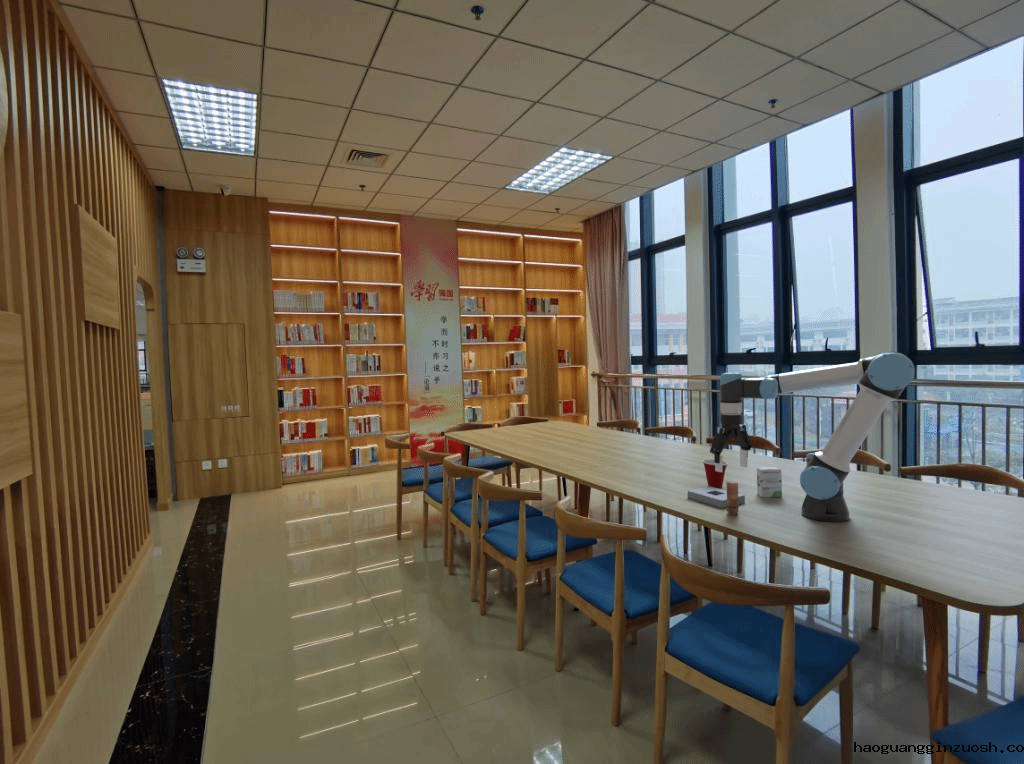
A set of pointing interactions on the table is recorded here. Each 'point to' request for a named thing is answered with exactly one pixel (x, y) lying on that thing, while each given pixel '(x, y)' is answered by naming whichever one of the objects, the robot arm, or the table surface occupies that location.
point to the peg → (732, 497)
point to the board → (712, 496)
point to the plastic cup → (714, 473)
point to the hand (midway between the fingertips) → (731, 469)
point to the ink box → (769, 482)
